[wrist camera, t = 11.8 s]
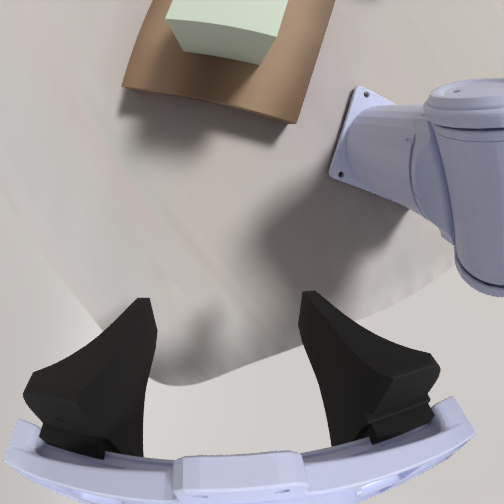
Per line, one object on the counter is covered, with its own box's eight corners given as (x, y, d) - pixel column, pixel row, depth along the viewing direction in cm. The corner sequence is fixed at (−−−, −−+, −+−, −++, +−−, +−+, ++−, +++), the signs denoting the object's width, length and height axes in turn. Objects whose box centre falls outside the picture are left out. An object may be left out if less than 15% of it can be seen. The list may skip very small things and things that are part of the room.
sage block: (277, 7, 12) (299, -35, 7) (259, 65, 14) (276, 37, 9) (204, -7, 11) (198, -53, 6) (183, 51, 13) (165, 18, 8)
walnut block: (325, 2, 14) (338, -11, 11) (286, 123, 19) (296, 123, 16) (183, -30, 12) (178, -47, 9) (135, 90, 17) (121, 86, 14)
